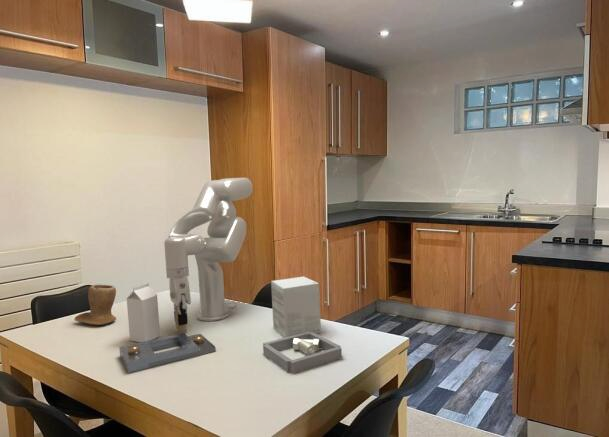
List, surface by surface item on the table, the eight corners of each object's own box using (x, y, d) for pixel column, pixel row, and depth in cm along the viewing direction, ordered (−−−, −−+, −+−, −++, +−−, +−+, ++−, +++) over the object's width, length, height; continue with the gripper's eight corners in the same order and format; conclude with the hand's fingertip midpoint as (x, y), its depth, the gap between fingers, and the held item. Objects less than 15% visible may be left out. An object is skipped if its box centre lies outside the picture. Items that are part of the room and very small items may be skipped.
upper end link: (184, 341, 149) (183, 328, 148) (198, 355, 136) (197, 341, 135) (120, 356, 138) (118, 342, 138) (128, 373, 125) (127, 357, 125)
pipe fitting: (316, 358, 131) (320, 348, 137) (315, 346, 130) (319, 336, 137) (290, 357, 133) (295, 347, 139) (289, 345, 132) (295, 335, 139)
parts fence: (311, 339, 145) (310, 330, 145) (344, 357, 129) (343, 347, 129) (261, 353, 135) (260, 343, 135) (290, 374, 120) (289, 363, 120)
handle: (193, 332, 158) (190, 291, 156) (178, 337, 153) (175, 295, 151) (185, 329, 161) (182, 289, 159) (170, 335, 156) (167, 293, 154)
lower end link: (200, 337, 151) (200, 329, 151) (215, 351, 139) (215, 341, 138) (138, 352, 141) (137, 342, 141) (148, 368, 128) (147, 357, 128)
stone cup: (124, 319, 176) (121, 283, 175) (98, 329, 166) (94, 290, 164) (100, 315, 183) (97, 280, 182) (73, 324, 173) (70, 287, 172)
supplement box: (306, 322, 163) (304, 275, 162) (321, 332, 151) (319, 282, 150) (272, 328, 158) (270, 280, 156) (285, 339, 146) (283, 288, 144)
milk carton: (160, 336, 155) (156, 283, 153) (145, 343, 148) (141, 288, 147) (145, 334, 158) (141, 282, 156) (129, 341, 151) (125, 287, 150)
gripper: (195, 274, 149) (199, 326, 151) (181, 267, 164) (184, 315, 165) (173, 277, 146) (177, 331, 147) (161, 270, 160) (164, 319, 161)
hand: (181, 322), depth 156 cm, fingers closed on handle, 3 cm apart
